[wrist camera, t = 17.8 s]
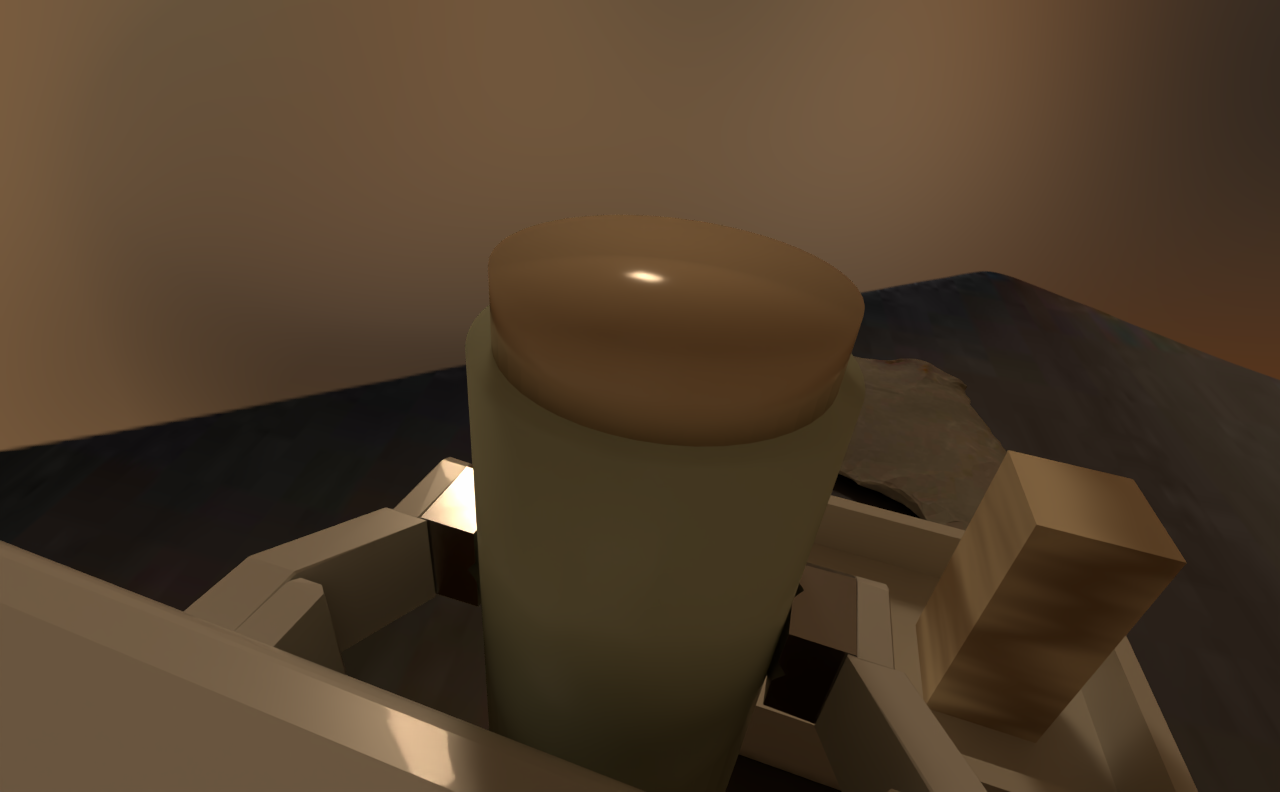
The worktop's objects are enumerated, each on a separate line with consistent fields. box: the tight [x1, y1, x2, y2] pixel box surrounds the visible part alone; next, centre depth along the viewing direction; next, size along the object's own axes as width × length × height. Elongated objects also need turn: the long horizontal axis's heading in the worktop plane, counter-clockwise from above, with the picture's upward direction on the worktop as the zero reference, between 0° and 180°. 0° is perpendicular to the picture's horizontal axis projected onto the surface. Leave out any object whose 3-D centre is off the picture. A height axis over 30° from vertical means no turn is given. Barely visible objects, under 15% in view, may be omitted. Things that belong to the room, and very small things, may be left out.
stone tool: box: [839, 357, 1007, 531], centre depth 42 cm, size 20×3×25 cm
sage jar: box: [465, 215, 866, 792], centre depth 10 cm, size 5×5×12 cm
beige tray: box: [739, 495, 1198, 792], centre depth 28 cm, size 24×14×4 cm, turn 73°
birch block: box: [916, 450, 1186, 743], centre depth 25 cm, size 4×4×11 cm
